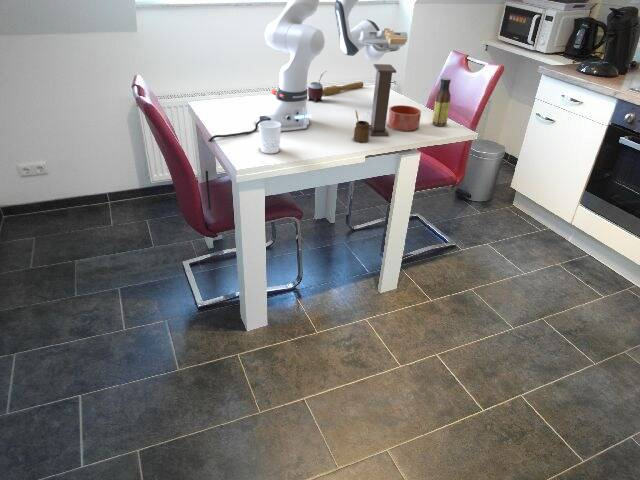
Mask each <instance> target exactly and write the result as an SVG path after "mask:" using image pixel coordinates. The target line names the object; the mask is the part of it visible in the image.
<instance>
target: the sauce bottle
mask: <svg viewBox="0 0 640 480" xmlns="http://www.w3.org/2000/svg"><path fill="white" fill-rule="evenodd" d="M451 81H452V80H451V78H450V77H441V78H440V85H439V86H440V87H439V89H438V91H437V92H436V94H435V99H434V101H435V102H434V108H433V115H432V125H433V126H436V127H445V126H446V125H447V123H448V119H449V118H448V117H449V111H450V105H451V96H452V95H451V91H450V84H451Z"/></svg>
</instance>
